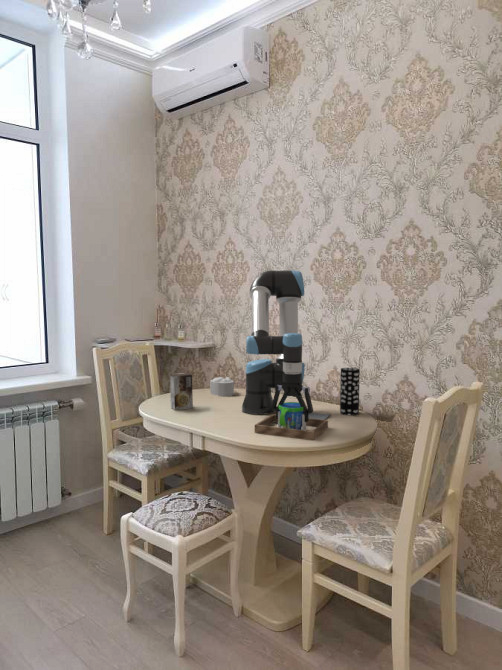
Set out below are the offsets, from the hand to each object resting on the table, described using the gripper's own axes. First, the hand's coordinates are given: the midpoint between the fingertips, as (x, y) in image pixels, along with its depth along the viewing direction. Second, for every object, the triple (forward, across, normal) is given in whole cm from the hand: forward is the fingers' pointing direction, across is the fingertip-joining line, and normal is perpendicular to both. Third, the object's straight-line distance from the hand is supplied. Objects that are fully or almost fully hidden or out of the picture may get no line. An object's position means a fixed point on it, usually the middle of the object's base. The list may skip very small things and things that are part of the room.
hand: (291, 428), depth 205 cm
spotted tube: (+1, +14, +37) cm, 40 cm away
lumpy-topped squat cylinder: (+1, -57, +50) cm, 76 cm away
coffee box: (+1, -60, +14) cm, 62 cm away
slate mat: (+1, 0, +21) cm, 21 cm away
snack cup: (+1, 0, 0) cm, 1 cm away
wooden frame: (+1, 0, 0) cm, 1 cm away
